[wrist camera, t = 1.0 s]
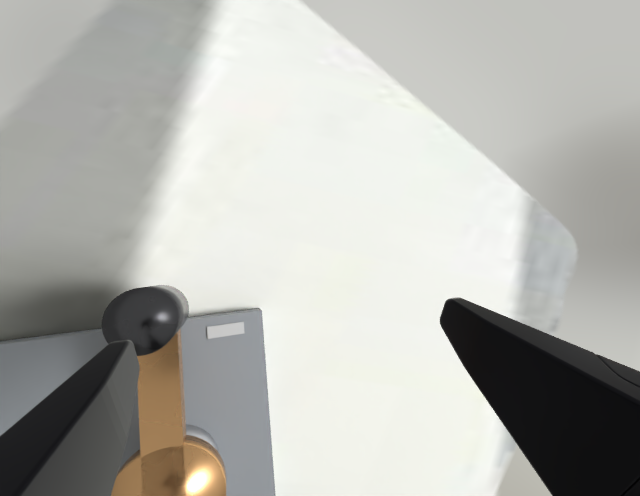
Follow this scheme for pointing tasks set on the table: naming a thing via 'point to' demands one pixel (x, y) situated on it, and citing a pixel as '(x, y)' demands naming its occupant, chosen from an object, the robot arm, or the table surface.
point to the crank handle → (161, 400)
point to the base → (199, 389)
